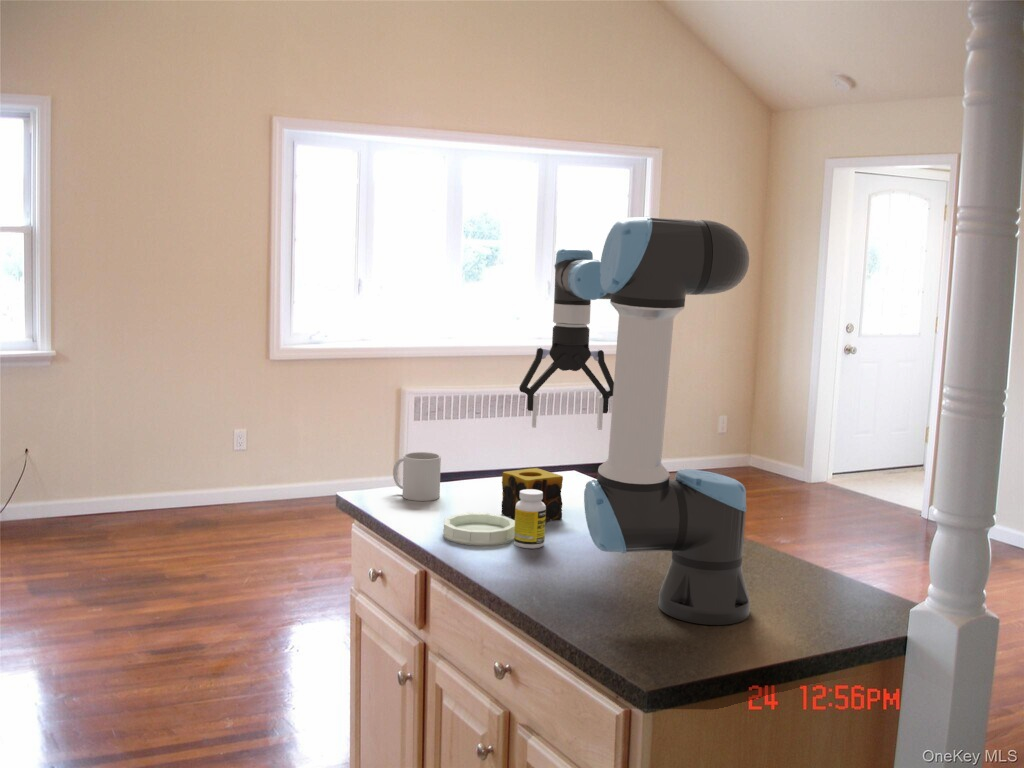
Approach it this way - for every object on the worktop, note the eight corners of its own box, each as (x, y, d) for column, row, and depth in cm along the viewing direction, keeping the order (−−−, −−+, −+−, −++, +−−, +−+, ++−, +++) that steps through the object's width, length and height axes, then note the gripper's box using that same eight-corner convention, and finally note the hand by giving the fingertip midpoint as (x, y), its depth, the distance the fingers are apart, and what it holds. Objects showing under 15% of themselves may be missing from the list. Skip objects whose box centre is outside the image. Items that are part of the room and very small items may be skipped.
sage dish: (517, 546, 202) (517, 533, 202) (442, 545, 201) (442, 531, 201) (513, 526, 217) (513, 513, 217) (443, 524, 216) (444, 512, 216)
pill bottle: (541, 550, 200) (543, 496, 199) (511, 547, 201) (513, 493, 200) (546, 542, 206) (549, 489, 205) (517, 539, 207) (519, 487, 206)
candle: (562, 520, 224) (565, 476, 223) (525, 525, 219) (527, 480, 217) (536, 509, 233) (538, 467, 231) (500, 514, 227) (501, 471, 226)
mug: (445, 499, 239) (446, 458, 237) (408, 502, 234) (409, 460, 233) (427, 489, 248) (428, 449, 247) (391, 492, 244) (392, 451, 242)
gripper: (629, 326, 210) (624, 426, 212) (509, 321, 209) (506, 422, 212) (634, 328, 202) (629, 432, 205) (510, 324, 202) (506, 428, 204)
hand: (566, 427), depth 208 cm, fingers open, 13 cm apart
